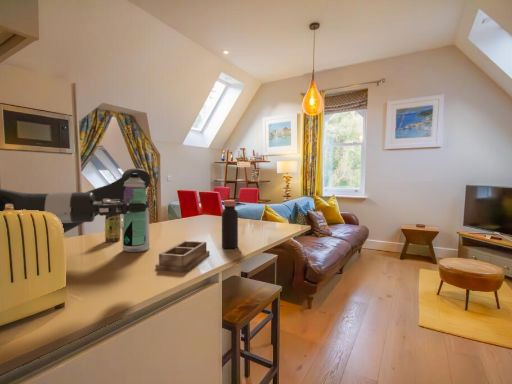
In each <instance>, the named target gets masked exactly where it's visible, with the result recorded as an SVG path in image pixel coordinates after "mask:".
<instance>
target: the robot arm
mask: <svg viewBox="0 0 512 384" xmlns="http://www.w3.org/2000/svg"><path fill="white" fill-rule="evenodd" d="M131 173H138V176H139V178H141V180H143V181H144V182H146V183H145V185H146V189H148V188H149V186H150V185H151V182H152V181H151V180H152V179H151V175H150V173H149V172H148V171H146V170H145V169H142V168H129V169H127V170H125V171H124V172H123V173H122V176H121V177H120V178H119V179H116V180H115V181H112V182H111V183H108V184H106V185H103V186H100V187H97V188H93V189H90V190H88V191H86V192H84V191H83V192H78V191H76V192H71V191H70V192H69V191H68V192H63V191H62V192H52V193H49V192H48V193H30V192H29V193H28V192H22V191H21V192H20V191H16V190H15V191H14V190H9V189H5V188H0V211H3V210H7V209H6V205H8V204H9V205H12V206H13V211H14V210H21V209H22V210H23V209H26V210H39V211H47V212H51V213H53V214H55V215H56V216H57V217H58V218H59V219H60V220H61V222H62V224H63V228H64V233H63V234H65V233H67V232H69V231H71V230H72V229H75V228H77V227H78V226H80V225H82V224H84V223H92V222H94V221H95V219H96V218H95V217H97V216H101V217H103V216H105V215H118V214H120V215H123V216H124V215H125V214H127V213H130V212H145V211H146V246H145V247H143V248H138V249H126V248H124V226H122V228H121V230H122V232H121V235H122V238H121V239H122V251H124V252H127V253H140V252H145V251H148V250H150V214H149V213H150V212H149V209H150V208H149V200H148V198H147V197H146V204H145V203H124V184H125V183H124V182H125V181H127V180H128V179H129V178H130V176H131Z"/></svg>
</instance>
